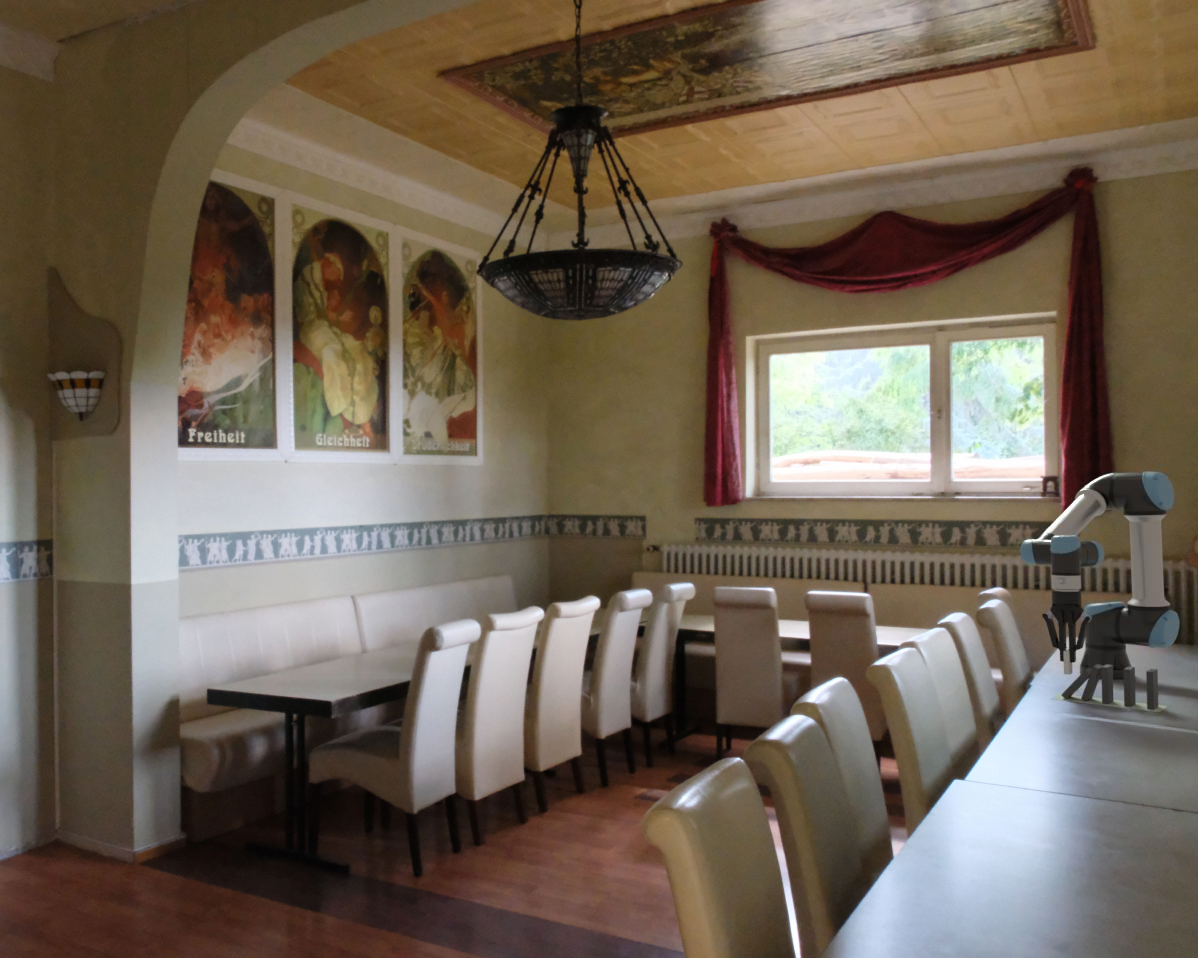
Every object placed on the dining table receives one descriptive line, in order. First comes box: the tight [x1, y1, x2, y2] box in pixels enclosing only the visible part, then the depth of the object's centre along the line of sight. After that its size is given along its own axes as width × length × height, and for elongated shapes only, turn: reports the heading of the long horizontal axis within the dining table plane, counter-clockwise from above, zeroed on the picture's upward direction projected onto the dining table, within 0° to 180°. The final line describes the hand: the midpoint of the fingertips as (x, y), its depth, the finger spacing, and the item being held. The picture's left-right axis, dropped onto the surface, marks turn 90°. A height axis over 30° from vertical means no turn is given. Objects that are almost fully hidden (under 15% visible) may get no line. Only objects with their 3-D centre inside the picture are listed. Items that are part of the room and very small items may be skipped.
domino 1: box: [1061, 668, 1092, 699], centre depth 273 cm, size 5×2×10 cm
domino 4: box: [1123, 666, 1137, 707], centre depth 264 cm, size 5×2×10 cm, turn 138°
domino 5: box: [1145, 668, 1159, 710], centre depth 260 cm, size 5×2×10 cm, turn 138°
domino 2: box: [1081, 664, 1102, 702], centre depth 270 cm, size 5×2×10 cm, turn 138°
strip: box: [1051, 693, 1168, 713], centre depth 268 cm, size 9×27×1 cm, turn 48°
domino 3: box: [1101, 664, 1115, 704], centre depth 268 cm, size 5×2×10 cm, turn 138°
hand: (1068, 673), depth 274 cm, fingers closed
